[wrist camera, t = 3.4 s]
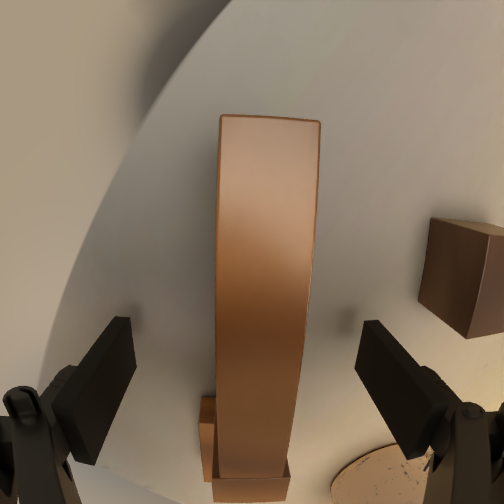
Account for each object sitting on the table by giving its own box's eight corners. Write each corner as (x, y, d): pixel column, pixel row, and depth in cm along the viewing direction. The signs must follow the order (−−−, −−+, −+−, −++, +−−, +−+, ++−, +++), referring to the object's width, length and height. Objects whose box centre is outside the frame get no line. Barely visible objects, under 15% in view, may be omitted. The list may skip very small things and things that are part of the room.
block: (430, 217, 16) (489, 234, 11) (487, 223, 16) (543, 239, 11) (417, 301, 17) (465, 340, 12) (474, 298, 17) (522, 328, 12)
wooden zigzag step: (276, 457, 19) (290, 545, 12) (205, 457, 19) (200, 546, 11) (305, 148, 15) (371, 126, 7) (198, 144, 14) (164, 114, 7)
